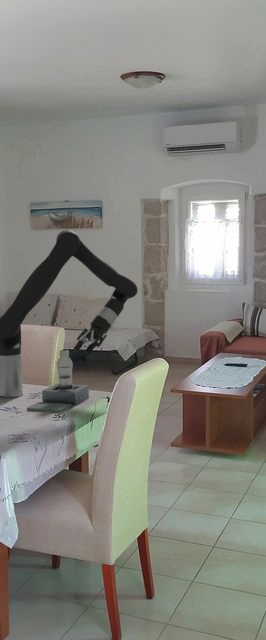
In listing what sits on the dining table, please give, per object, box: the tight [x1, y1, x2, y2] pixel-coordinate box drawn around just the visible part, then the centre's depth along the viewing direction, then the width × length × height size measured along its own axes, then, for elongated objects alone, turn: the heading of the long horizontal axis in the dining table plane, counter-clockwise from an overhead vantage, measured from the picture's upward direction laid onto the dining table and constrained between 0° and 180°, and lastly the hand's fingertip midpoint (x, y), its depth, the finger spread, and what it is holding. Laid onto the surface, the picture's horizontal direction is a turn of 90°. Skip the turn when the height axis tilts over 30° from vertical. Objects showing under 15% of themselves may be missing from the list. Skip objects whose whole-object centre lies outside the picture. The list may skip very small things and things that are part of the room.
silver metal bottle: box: [56, 349, 74, 391], centre depth 255 cm, size 6×7×20 cm
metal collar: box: [41, 383, 90, 406], centre depth 256 cm, size 14×13×5 cm
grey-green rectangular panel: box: [26, 401, 72, 414], centre depth 244 cm, size 14×9×1 cm, turn 71°
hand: (80, 351), depth 258 cm, fingers open, 8 cm apart
